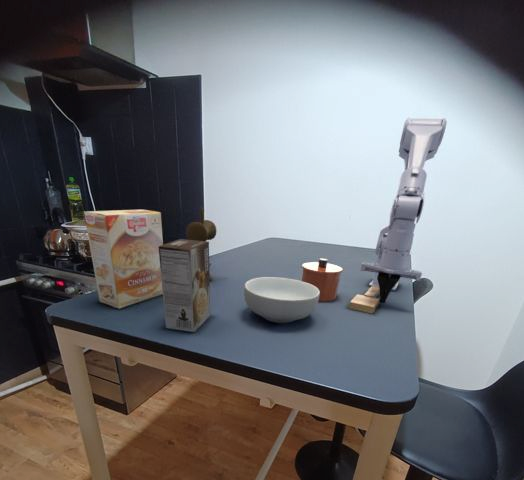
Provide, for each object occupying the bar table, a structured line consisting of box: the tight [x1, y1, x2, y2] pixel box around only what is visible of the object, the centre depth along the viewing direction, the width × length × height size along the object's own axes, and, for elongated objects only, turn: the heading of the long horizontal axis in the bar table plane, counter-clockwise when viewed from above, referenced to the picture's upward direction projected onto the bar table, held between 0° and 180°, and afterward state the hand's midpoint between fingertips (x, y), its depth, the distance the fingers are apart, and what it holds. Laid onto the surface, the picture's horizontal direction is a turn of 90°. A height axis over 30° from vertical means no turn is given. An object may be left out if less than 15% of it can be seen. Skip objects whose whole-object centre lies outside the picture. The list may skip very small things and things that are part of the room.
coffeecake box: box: [83, 208, 164, 310], centre depth 73 cm, size 15×7×20 cm, turn 151°
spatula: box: [348, 286, 380, 315], centre depth 87 cm, size 19×6×2 cm, turn 152°
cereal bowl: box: [243, 276, 320, 324], centre depth 71 cm, size 17×17×7 cm
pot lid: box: [301, 258, 343, 274], centre depth 85 cm, size 11×11×3 cm
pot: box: [301, 268, 342, 302], centre depth 87 cm, size 10×10×8 cm
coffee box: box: [159, 238, 211, 333], centre depth 63 cm, size 9×6×16 cm
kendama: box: [185, 206, 218, 281], centre depth 90 cm, size 6×10×20 cm, turn 169°
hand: (382, 301), depth 84 cm, fingers closed
